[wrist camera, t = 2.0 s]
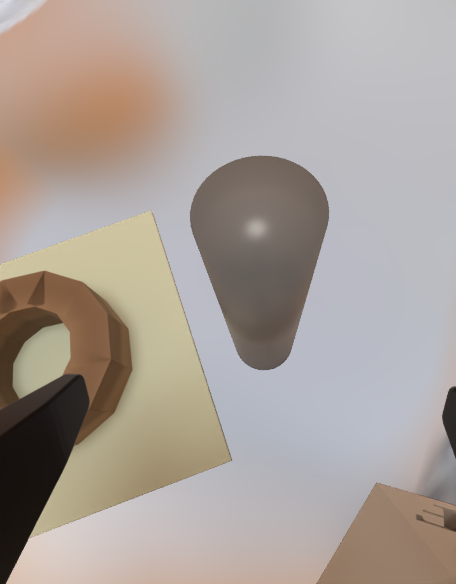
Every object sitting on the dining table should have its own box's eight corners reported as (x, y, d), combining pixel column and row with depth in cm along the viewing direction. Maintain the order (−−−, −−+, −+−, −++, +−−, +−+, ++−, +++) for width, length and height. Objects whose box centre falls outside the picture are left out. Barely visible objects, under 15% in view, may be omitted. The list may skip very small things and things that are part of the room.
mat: (232, 459, 18) (231, 460, 18) (-71, 576, 18) (-78, 579, 17) (152, 214, 24) (151, 210, 24) (-76, 295, 24) (-81, 293, 23)
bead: (87, 477, 18) (55, 485, 16) (-51, 418, 20) (-102, 415, 17) (154, 315, 21) (137, 298, 18) (28, 277, 23) (-5, 255, 20)
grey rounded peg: (283, 377, 20) (309, 290, 7) (228, 360, 20) (169, 253, 8) (298, 323, 21) (343, 169, 8) (245, 308, 21) (215, 145, 9)
